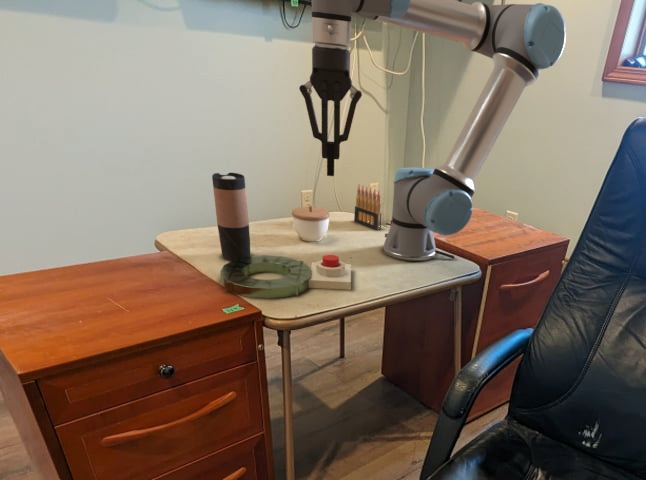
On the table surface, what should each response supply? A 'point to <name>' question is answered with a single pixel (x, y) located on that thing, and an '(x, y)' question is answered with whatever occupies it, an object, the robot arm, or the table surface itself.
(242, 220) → the travel mug
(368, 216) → the ammunition clip
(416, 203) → the robot arm
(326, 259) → the switch button
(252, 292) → the ring
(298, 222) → the trinket box
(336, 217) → the table surface
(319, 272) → the switch box
